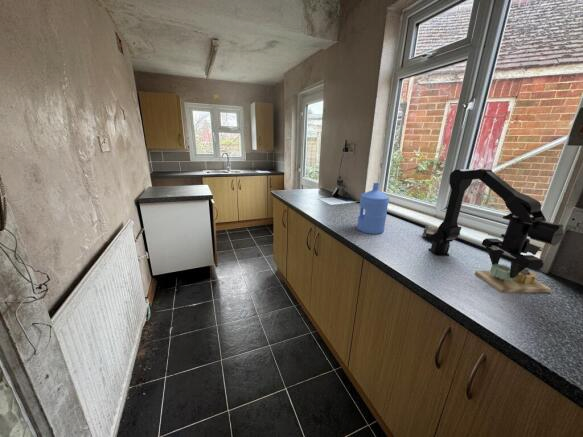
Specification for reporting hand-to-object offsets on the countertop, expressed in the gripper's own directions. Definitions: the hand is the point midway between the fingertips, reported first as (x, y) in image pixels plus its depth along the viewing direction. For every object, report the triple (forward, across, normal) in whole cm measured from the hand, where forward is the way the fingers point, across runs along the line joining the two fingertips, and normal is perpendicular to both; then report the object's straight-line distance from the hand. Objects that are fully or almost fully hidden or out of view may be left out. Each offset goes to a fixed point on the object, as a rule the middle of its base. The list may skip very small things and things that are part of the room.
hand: (502, 272), depth 88 cm
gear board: (+4, 0, -4) cm, 6 cm away
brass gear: (+3, 0, -8) cm, 8 cm away
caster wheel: (+5, +41, +1) cm, 41 cm away
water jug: (+5, +55, +31) cm, 63 cm away
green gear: (+1, 0, 0) cm, 1 cm away
